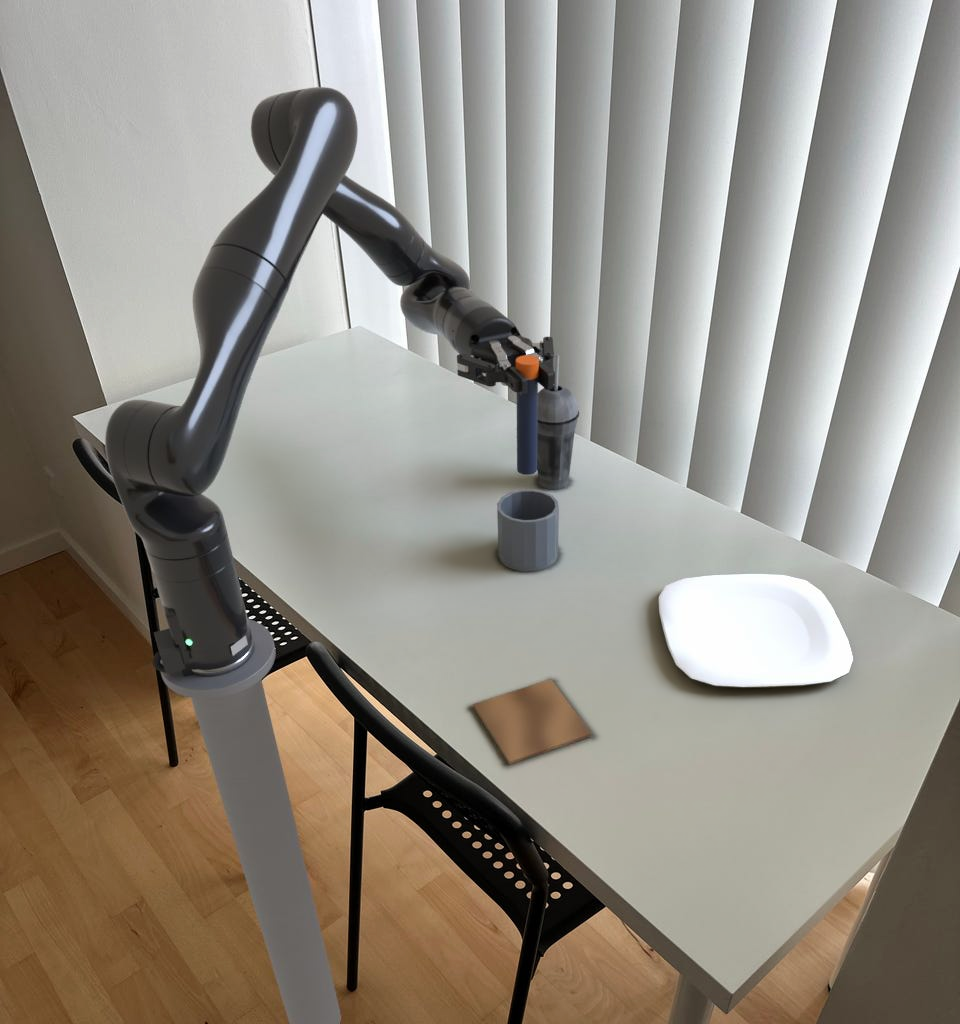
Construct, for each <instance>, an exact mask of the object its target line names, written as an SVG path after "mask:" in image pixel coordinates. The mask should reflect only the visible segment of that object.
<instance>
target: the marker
mask: <svg viewBox="0 0 960 1024" xmlns="http://www.w3.org/2000/svg"><path fill="white" fill-rule="evenodd" d="M516 369H517V370H519V371H520V372H521V373H522V374H523V375H524V376H526V378H527V381H528V393H527V394H526V395H520V394H519V393H518V392H517V393H516V471H517V473H519V474H520V475H525V476H530V475H534V474H536V473H537V423H538V392H539V383H538V376H539V359H538V358H537V357H535V356H531V355H524V356H520V357H518V358H516Z"/></svg>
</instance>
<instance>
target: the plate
mask: <svg viewBox="0 0 960 1024" xmlns="http://www.w3.org/2000/svg"><path fill="white" fill-rule="evenodd" d="M658 611H659V612H658V614H659V618H660V623H661V628H662V632H663V635H664V639H665V642H666V643H665V644H666V647H667V649H668V651H669V653H670V656H671V658H672V660H673V662H674V664H675V666H676V667H677V668H678V670H680V671H681V672H682V673H683V674H684V675H686V677H687V678H689V679H690V680H692V681H694V682H699V683H702V684H705V685H708V686H711V687H718V688H734V689H735V688H738V689H752V688H753V689H756V688H758V689H761V688H764V689H765V688H789V687H805V686H813V685H821V684H828V683H831V682H832V683H833V682H834V681H837V680H838V679H841V678H843V677H845V676H847V675H849V672H850V670H851V666H852V663H853V661H854V656H853V653H852V649H851V645H850V642H849V641H850V640H849V639H848V637H847V635H846V633H845V630H844V628H843V626H842V624H841V622H840V619H839V618H838V616H837V614H836V612H835V609H834V607H833V606H832V604H831V602H829V600H828V598H827V597H826V596H825V594H824V593H823V591H821V589H818V588H817V587H816V586H814V584H811V583H810V582H809V581H807V580H806V579H802V578H798V577H793V576H789V575H786V574H772V573H741V574H737V573H735V574H716V575H715V574H714V575H703V576H695V577H694V576H693V577H686V578H681V579H679V580H676V581H673V582H671V583H668V584H666V585H665V586H664V587H663V590H662V591H661V592H660V594H659V596H658Z"/></svg>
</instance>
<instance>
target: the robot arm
mask: <svg viewBox="0 0 960 1024" xmlns="http://www.w3.org/2000/svg"><path fill="white" fill-rule="evenodd" d="M254 108H255V109H254V110H253V112H252V116H251V121H250V135H251V140H252V145H253V147H254V150H255V153H256V155H257V156H258V158H259V160H260V162H261V163H262V164H263V166H264V167H265V168H266V169H267V170H268V171H269V172H270V173H271V174H272V175H273V177H272V179H271V180H270V182H269V183H268V184H267V185H266V186H265V187H264V188H263V189H262V190H261V191H260V192H259V193H258V194H257V195H256V196H255V197H254V198H253V199H252V200H251V201H250V202H249V203H248V204H247V205H245V206H244V207H243V208H242V209H241V210H240V211H239V212H238V213H237V214H236V215H235V216H234V217H233V218H231V220H230V221H229V222H228V223H227V224H226V226H225V227H223V229H222V230H221V231H220V233H219V234H218V236H217V237H216V238H215V240H214V241H213V243H212V245H211V247H210V248H209V251H208V254H207V256H206V258H205V260H204V262H203V265H202V266H201V269H200V271H199V274H198V276H197V278H196V281H195V284H194V287H193V290H192V311H193V318H194V324H195V328H196V333H197V338H198V344H199V351H200V353H199V354H200V359H199V366H198V369H197V373H196V376H195V379H194V381H193V384H192V387H191V389H190V391H189V394H188V395H187V397H186V399H185V401H184V402H183V403H182V404H181V405H176V404H171V403H164V402H159V401H153V400H147V399H131V400H127V401H124V402H123V403H121V404H119V405H118V406H117V407H116V408H115V410H113V412H112V413H111V415H110V416H109V419H108V422H107V424H106V429H105V437H104V446H105V448H104V449H105V455H106V456H105V457H106V461H107V464H108V469H109V472H110V475H111V478H112V480H113V483H114V486H115V488H116V492H117V494H118V496H119V499H120V501H121V505H122V507H123V510H124V513H125V515H126V517H127V520H128V523H129V525H130V526H131V528H132V530H133V531H134V532H135V533H136V534H137V535H138V536H139V537H140V538H141V541H142V542H143V546H144V549H145V552H146V553H145V554H146V556H147V559H148V563H149V565H150V569H151V572H152V575H153V579H154V582H155V585H156V589H157V593H158V596H159V600H160V603H161V606H162V610H163V612H164V616H165V619H166V623H167V625H168V628H165V629H161V630H158V631H155V632H153V635H154V638H155V642H156V646H157V649H158V651H156V652H155V654H154V656H153V658H152V661H151V663H152V666H153V668H154V669H155V670H156V671H158V672H160V671H161V672H164V673H166V674H171V673H173V672H176V671H180V670H182V672H183V676H184V677H187V676H191V675H197V676H204V677H210V676H218V675H223V674H226V673H229V672H232V671H234V670H236V669H238V668H239V667H241V666H242V665H244V664H245V663H246V662H247V661H248V660H249V659H250V657H251V656H252V654H253V652H254V646H255V645H254V640H253V636H252V634H251V630H250V627H249V623H248V619H249V618H248V613H247V611H246V606H245V602H244V598H243V593H242V589H241V584H240V580H239V576H238V573H237V568H236V564H235V560H234V555H233V551H232V546H231V542H230V537H229V533H228V530H227V526H226V522H225V521H226V520H225V518H224V515H223V512H222V510H221V508H220V506H219V505H218V504H217V503H216V502H215V501H213V500H212V499H211V498H209V497H208V496H206V495H204V493H205V492H206V491H207V490H208V489H209V488H210V487H211V485H212V484H213V483H214V481H215V479H216V478H217V476H218V474H219V472H220V470H221V469H222V465H223V464H224V461H225V458H226V455H227V452H228V449H229V446H230V442H231V441H232V436H233V434H234V430H235V427H236V423H237V420H238V417H239V414H240V410H241V407H242V403H243V401H244V397H245V394H246V392H247V389H248V386H249V384H250V382H251V381H250V380H251V378H252V376H253V373H254V370H255V367H256V365H257V363H258V360H259V358H260V355H261V353H262V350H263V348H264V346H265V343H266V341H267V338H268V336H269V334H270V332H271V330H272V328H273V326H274V324H275V322H276V320H277V318H278V315H279V313H280V311H281V308H282V306H283V303H284V302H285V299H286V296H287V295H288V293H289V289H290V287H291V284H292V282H293V278H294V276H295V273H296V271H297V269H298V266H299V264H300V262H301V260H302V258H303V256H304V254H305V252H306V249H307V247H308V245H309V243H310V241H311V238H312V236H313V234H314V232H315V230H316V228H317V225H318V224H319V221H320V219H321V218H322V216H324V217H326V218H327V219H328V220H329V221H331V222H332V223H333V224H334V225H336V226H337V227H338V228H339V229H340V230H342V232H343V233H345V234H346V235H347V236H348V237H349V238H350V239H351V240H352V241H353V242H354V243H355V244H357V246H358V247H359V248H360V249H361V250H362V251H363V252H364V253H365V254H366V256H367V257H368V258H369V260H371V262H373V264H375V266H376V267H377V268H378V269H379V270H380V271H381V273H383V275H384V276H385V277H386V278H387V279H388V280H389V281H390V282H391V283H392V284H394V285H396V286H398V287H399V286H400V287H406V288H405V289H404V291H402V293H401V296H400V300H399V306H400V311H401V313H402V315H403V317H404V318H405V319H406V320H407V321H408V322H409V323H410V324H411V325H412V326H414V327H415V328H417V329H419V330H420V331H423V332H425V333H428V334H431V335H437V336H441V337H443V338H444V339H445V340H446V341H448V343H449V344H450V346H451V347H452V348H453V350H454V351H456V353H457V355H456V369H457V372H456V373H457V376H458V377H461V378H463V379H467V380H468V381H469V380H470V381H472V382H475V383H477V384H481V385H483V386H486V387H489V388H490V387H495V386H496V385H497V383H500V384H501V385H502V386H505V387H508V388H509V389H510V390H511V391H512V392H515V393H516V394H517V392H518V393H519V394H520V395H526V394H527V393H528V381H527V378H526V376H524V375H523V374H522V373H521V372H520V371H519V370H517V369H516V358H518V357H520V356H524V355H531V356H535V357H537V358H538V359H539V376H538V385H540V386H542V388H545V389H546V390H549V389H553V385H554V384H555V366H554V357H555V349H554V339H553V337H552V336H544V337H543V338H542V340H540V341H539V342H533V341H532V340H531V339H530V338H528V337H525V336H522V335H521V333H520V331H519V329H518V327H517V326H516V324H515V323H514V322H513V321H512V320H510V319H509V318H508V317H507V316H506V315H504V314H503V313H502V312H500V310H498V309H496V308H495V307H494V306H493V305H491V304H490V303H489V302H487V301H485V300H482V299H481V298H480V297H479V296H477V295H476V294H475V293H474V292H473V291H471V279H470V277H469V275H468V273H467V271H465V270H464V268H463V267H462V266H461V265H460V264H458V263H457V262H455V260H452V259H451V258H449V257H447V256H445V255H444V254H442V253H440V252H438V251H437V250H436V249H435V248H432V246H430V245H429V244H428V242H426V240H424V238H423V237H422V236H421V234H420V233H419V232H418V231H417V229H415V227H414V226H413V225H412V223H411V222H410V221H409V220H408V218H407V217H406V216H405V215H404V214H403V213H402V212H401V211H400V210H399V209H398V208H397V207H395V206H394V205H393V204H391V202H388V201H387V200H386V199H384V198H383V197H382V196H379V195H377V194H376V193H375V192H372V190H370V189H367V188H366V187H364V186H362V185H361V184H360V183H358V182H356V181H355V180H353V179H352V178H350V177H349V176H348V175H346V174H347V172H348V170H349V168H350V166H351V164H352V161H353V159H354V156H355V152H356V148H357V144H358V135H359V133H358V132H359V131H358V130H359V129H358V121H357V116H356V113H355V109H354V107H353V104H352V103H351V101H350V100H349V98H347V96H346V95H345V94H344V93H342V92H341V91H339V90H337V89H335V88H332V87H326V86H315V87H307V88H301V89H296V90H291V91H290V90H289V91H285V92H281V93H277V94H273V95H271V96H267V97H266V98H264V99H262V100H260V102H259V103H258V104H257V105H256V106H255V107H254ZM484 374H485V375H484ZM161 660H162V663H163V665H162V664H161V663H160V661H161ZM161 672H160V673H161Z"/></svg>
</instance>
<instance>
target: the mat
mask: <svg viewBox="0 0 960 1024" xmlns="http://www.w3.org/2000/svg"><path fill="white" fill-rule="evenodd" d="M472 708H473V710H474V711H475V713H476V714H477V715H478V717H479V719H480V720H481V722H482V724H483V725H484V726H485V728H486V730H487V731H488V733H489V735H490V737H491V738H492V739H493V741H494V742H495V744H496V746H497V748H498V749H499V751H500V752H501V754H502V755H503V757H504V759H505V760H506V762H507V764H508V765H513V764H516V763H518V762H521V761H524V760H527V759H530V758H533V757H535V756H539V755H541V754H544V753H547V752H550V751H553V750H556V749H559V748H561V747H565V746H567V745H570V744H574V743H576V742H579V741H582V740H585V739H589V738H590V737H592V732H591V731H590V729H588V727H587V725H586V724H585V722H584V721H582V719H581V717H579V715H578V714H577V713H576V711H575V710H574V708H573V707H572V706H571V704H570V703H569V702H568V700H567V699H566V698H565V697H564V694H562V692H561V691H560V689H559V688H558V687H557V686H556V684H555V683H554V682H553V680H552V679H551V678H549V679H546V680H544V681H541V682H537V683H534V684H531V685H528V686H524V687H522V688H519V689H515V690H512V691H510V692H507V693H503V694H499V695H498V696H494V697H491V698H487V699H485V700H481V701H479V702H478V701H477V702H476V703H473V704H472Z"/></svg>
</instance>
